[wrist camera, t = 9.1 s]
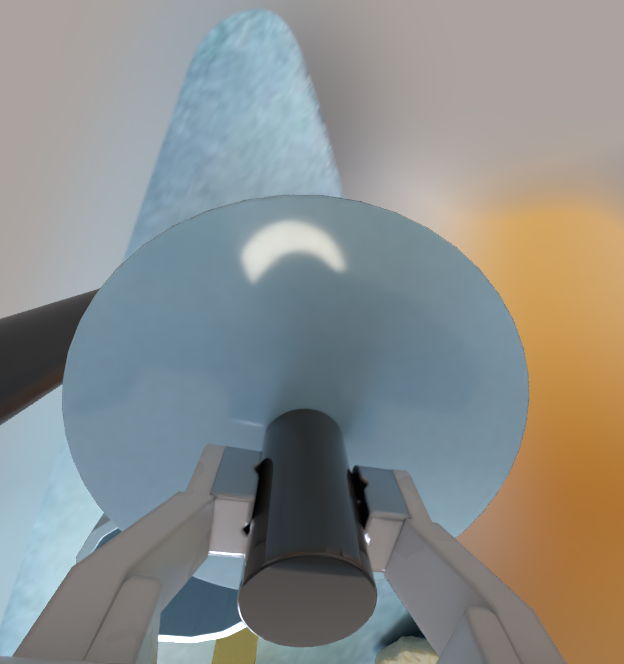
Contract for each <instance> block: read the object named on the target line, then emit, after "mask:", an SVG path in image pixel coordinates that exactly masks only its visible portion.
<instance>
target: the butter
mask: <svg viewBox="0 0 624 664" xmlns="http://www.w3.org/2000/svg"><path fill="white" fill-rule="evenodd" d="M257 641H258V636H257V635H256V634H254V633H253V632H251V631H250V630H249V629H248V628H247V627H246V628H244V629H242V630H240V631H238V632H236V633H234V634H232V635H230V636H228V637H224V638H218V639H216V645H215V650H214V655H213V660H212V664H255V661H256V651H257Z"/></svg>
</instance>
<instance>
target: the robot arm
mask: <svg viewBox="0 0 624 664" xmlns="http://www.w3.org/2000/svg"><path fill="white" fill-rule="evenodd" d="M262 453H263V452H260V451H254V450H248V449H242V448H235V447H229V446H221V445H215V444H209V443H207V445H206V446H205V447H204V449H203V452H202V454H201V456H200V459H199V461H198V463H197V466H196V468H195V470H194V473H193V475H192V477H191V480H190V482H189V484H188V487H187V489H186V491H185V492H180V491H179V492H177V493H176V494H174V495H173V496H172V497H170V498H169V499H167V500H166V501H165V502H163V503H162V504H160V505H159V506H158V507H156V508H155V509H153V510H152V511H150V512H149V513H148V514H146V515H145V516H143V517H142V518H141V519H139V520H138V521H136V522H135V523H133V524H132V525H131V526H129V527H128V528H126V529H125V530H124V531H122V532H121V533H119V534H118V535H117V536H115V537H114V538H112V539H111V540H109V541H108V542H107V543H105V544H104V545H102V546H101V547H100V548H98V549H97V550H95V551H94V552H92V553H91V554H90V555H88V556H87V557H85V558H84V559H83V560H81V561H80V562H78V563H77V564H75V565H74V566H73V567H72V568H71V569H70V571H69V572H68V574H67V575H66V577H65V578H64V580H63V581H62V583H61V584H60V586H59V587H58V589H57V590H56V592H55V593H54V595H53V596H52V598H51V599H50V601H49V602H48V604H47V605H46V607H45V608H44V610H43V611H42V613H41V614H40V616H39V617H38V619H37V620H36V622H35V623H34V625H33V626H32V628H31V629H30V631H29V632H28V634H27V635H26V637H25V638H24V639H23V641H22V642H21V644H20V645H19V647H18V648H17V650H16V651H15V653H14V654H13V656H12V657H8V656H0V664H156V661H157V650H158V638H159V626H160V615H161V612H162V610H163V609H164V608H165V607H166V606H167V605H168V603H169V602H170V601H171V600H172V599H173V598H174V596H175V595H176V594H177V593H178V592H179V591H180V589H181V588H182V587H183V586H184V585H185V584H186V582H187V581H188V580H189V579H190V578H191V577H192V575H193V574H194V573H195V572H196V571H197V570H198V568H199V567H200V566H201V565H202V564H203V563H204V561H205V560H206V559H207V558H208V555H211V556H225V557H240V558H244V552H245V546H246V539H247V533H248V527H249V523H250V522H251V519H252V514H253V508H254V503H255V497H256V491H257V485H258V479H259V471H260V466H261V460H262ZM351 474H352V478H353V483H354V488H355V492H356V497H357V501H358V506H359V510H360V515H361V519H362V524H363V529H364V533H365V538H366V542H367V547H368V551H369V556H370V561H371V565H372V570H373V572H380V573H384V576H385V578H386V579H387V581H388V582H389V584H390V585H391V587H392V588H393V590H394V591H395V593H396V594H397V596H398V597H399V599H400V600H401V601H402V603H403V604H404V606H405V607H406V609H407V610H408V612H409V613H410V615H411V616H412V618H413V619H414V621H415V622H416V624H417V625H418V627H419V628H420V630H421V631H422V633H423V634H424V636H425V637H426V639H427V640H428V642H429V643H430V645H431V646H432V648H433V649H434V651H435V652H436V654H437V655H438V657H439V660H438V661H437V663H436V664H566V662H565V660H564V659H563V657H562V655H561V654H560V652H559V650H558V649H557V647H556V645H555V644H554V642H553V641H552V639H551V637H550V636H549V634H548V633H547V631H546V629H545V628H544V626H543V624H542V623H541V621H540V620H539V618H538V616H537V615H536V613H535V612H534V610H533V609H532V608H531V607H530V606H528V605H527V604H526V603H525V602H524V601H523V600H522V599H521V598H520V597H519V596H518V595H516V594H515V593H514V592H513V591H512V590H511V589H510V588H509V587H508V586H507V585H506V584H504V583H503V582H502V581H501V580H500V579H499V578H498V577H497V576H496V575H495V574H493V573H492V572H491V571H490V570H489V569H488V568H487V567H486V566H485V565H484V564H482V563H481V562H480V561H479V560H478V559H477V558H476V557H475V556H473V554H471V553H470V552H469V551H468V550H467V549H466V548H465V547H464V546H463V545H462V544H460V543H459V542H458V541H457V540H456V539H455V538H454V537H453V536H452V535H451V534H449V533H448V532H447V531H446V530H445V529H444V528H443V527H442V526H441V525H440V524H438V523H436V522H432V521H431V518H430V516H429V514H428V512H427V510H426V508H425V506H424V503H423V501H422V499H421V497H420V495H419V493H418V491H417V488H416V486H415V484H414V482H413V480H412V478H411V476H410V474H409V473H408V472H407V471H404V470H395V469H383V468H376V467H368V466H361V465H355V466H354V467H353V469H352V472H351Z"/></svg>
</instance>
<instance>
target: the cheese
mask: <svg viewBox="0 0 624 664" xmlns="http://www.w3.org/2000/svg"><path fill="white" fill-rule="evenodd" d="M438 660H439V657H438V655H437V654H436V652H435V651H434V649H433V648H432V646H431V645H430V643H429V642H428V640H427V639H426V638H425V639H422V638H417V637H414V636H408V637H406V636H402V637H400V638H399V640H398V641H395V642H394V643H392V644H390V645H389V646H386V647H384V648H382V649H381V650H380V652H379V653H378V654H377V656H376V659H375V664H436V663H437V661H438Z"/></svg>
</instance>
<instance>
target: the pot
mask: <svg viewBox="0 0 624 664" xmlns="http://www.w3.org/2000/svg"><path fill="white" fill-rule="evenodd" d="M121 532H122V531H121V530H120V529H119V528H118V527H117V526H116V525H115V524H114V523H113V522H112V521H111V520H110V519H109V517H108V516H107V515H106V514H105V513H104V514H103V515H102V517H101V518H100V520H99V521H98V523H97V524H96V526H95V527H94V529H93V530H92V532H91V533H90V535H89V537H88V538H87V540H86V541H85V543H84V545H83V546H82V548H81V550H80V551H79V553H78V555H77V557H76V564H77V563H78V562H80V561H81V560H83V559H84V558H85V557H87V556H88V555H90V554H91V553H92V552H94V551H95V550H97V549H98V548H100V547H101V546H102V545H104V544H105V543H107V542H108V541H109V540H111V539H112V538H114V537H115V536H117V535H118V534H119V533H121ZM237 594H238V590H237V589H232V588H228V587H224V586H219V585H216V584H213V583H210V582H207V581H204V580H201V579H198V578H196V577H193V576H192V577H191V578H190V579H189V580H188V581H187V582H186V584H185V585H184V586H183V587H182V588H181V589H180V591H179V592H178V593H177V594H176V595H175V596H174V598H173V599H172V600H171V601H170V602H169V603H168V605H167V606H166V607H165V608H164V609H163V610H162V612H161V615H160V626H159V638H158V641H169V642H183V643H196V642H201V641H207V640H212V639H218V638H224V637H228V636H230V635H232V634H234V633H236V632H238V631H240V630H242V629H244V628H246V625H245V624H244V623H243V621H242V620H241V618H240V615H239V612H238V608H237Z"/></svg>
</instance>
